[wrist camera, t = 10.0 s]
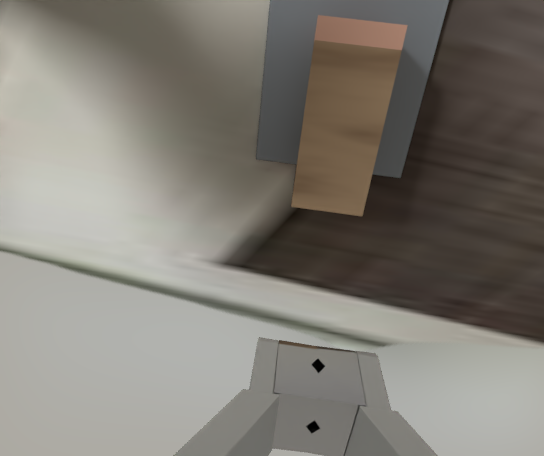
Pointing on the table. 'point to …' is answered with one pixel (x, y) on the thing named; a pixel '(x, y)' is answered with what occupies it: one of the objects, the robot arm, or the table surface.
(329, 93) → the walnut block
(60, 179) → the table surface
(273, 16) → the mat
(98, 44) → the table surface
